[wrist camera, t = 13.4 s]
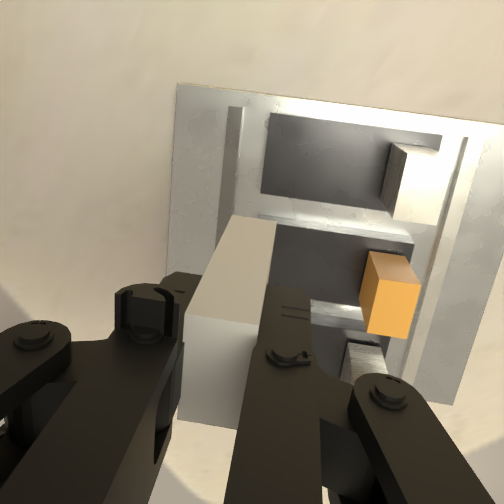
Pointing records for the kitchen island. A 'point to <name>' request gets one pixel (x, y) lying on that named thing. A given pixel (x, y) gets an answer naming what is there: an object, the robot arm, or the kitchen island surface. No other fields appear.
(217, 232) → the panel
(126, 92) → the kitchen island surface
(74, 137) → the kitchen island surface
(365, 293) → the block
